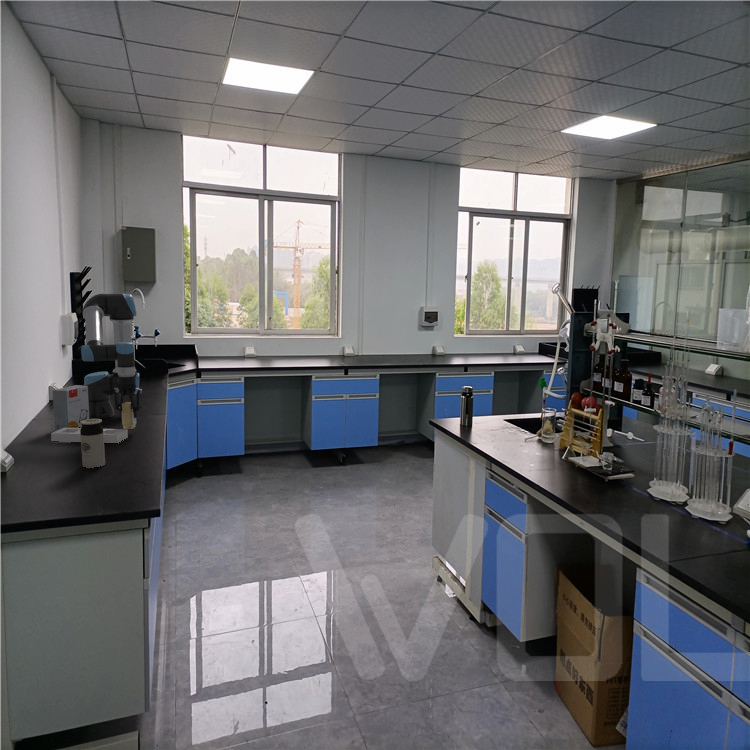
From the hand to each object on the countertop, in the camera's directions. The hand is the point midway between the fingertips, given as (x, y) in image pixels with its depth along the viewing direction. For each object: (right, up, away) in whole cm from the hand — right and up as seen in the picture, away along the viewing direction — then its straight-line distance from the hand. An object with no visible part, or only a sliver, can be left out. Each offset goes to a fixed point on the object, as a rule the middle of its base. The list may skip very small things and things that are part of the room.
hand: (129, 424), depth 268 cm
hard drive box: (-32, -3, +11) cm, 34 cm away
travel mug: (+6, -13, -45) cm, 47 cm away
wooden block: (0, -2, 0) cm, 2 cm away
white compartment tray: (-13, -6, -10) cm, 18 cm away
